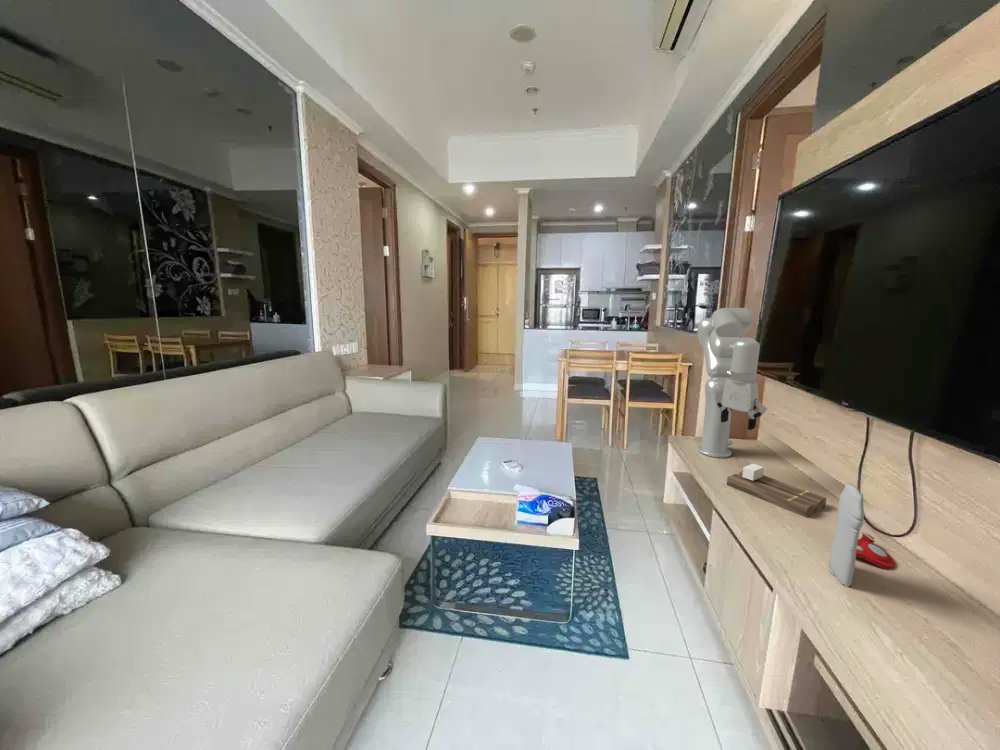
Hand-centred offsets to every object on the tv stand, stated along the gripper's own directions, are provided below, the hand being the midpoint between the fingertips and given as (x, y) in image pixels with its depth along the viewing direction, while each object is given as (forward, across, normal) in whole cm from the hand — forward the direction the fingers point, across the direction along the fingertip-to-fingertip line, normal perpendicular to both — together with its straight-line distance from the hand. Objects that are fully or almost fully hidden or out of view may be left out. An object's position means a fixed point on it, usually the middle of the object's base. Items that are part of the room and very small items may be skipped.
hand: (737, 425), depth 140 cm
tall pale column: (+20, +42, -27) cm, 54 cm away
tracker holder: (+20, +43, -12) cm, 49 cm away
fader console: (+20, +14, 0) cm, 24 cm away
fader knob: (+18, +7, 0) cm, 19 cm away
